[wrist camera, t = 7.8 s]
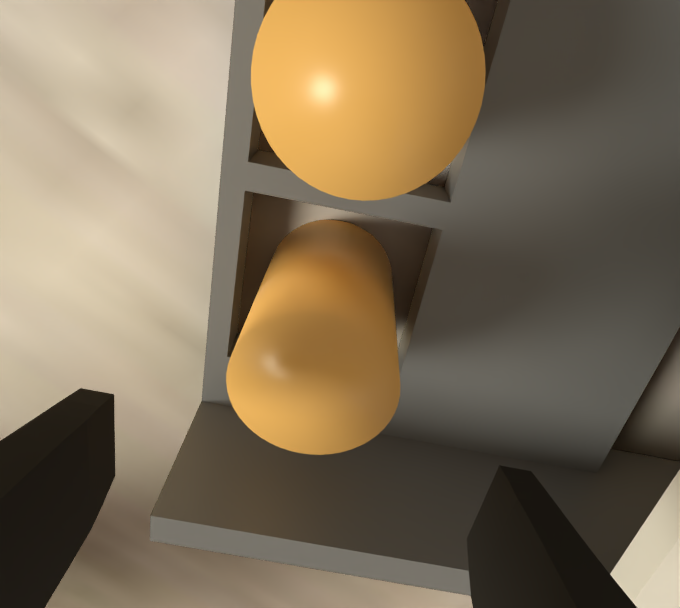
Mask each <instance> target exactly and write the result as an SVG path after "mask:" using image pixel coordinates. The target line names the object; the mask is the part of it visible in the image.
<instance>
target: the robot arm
mask: <svg viewBox="0 0 680 608" xmlns="http://www.w3.org/2000/svg"><path fill="white" fill-rule="evenodd" d="M114 477H115V432H114V394H109V393H103V392H98V391H92V390H87V389H81V388H80V389H79V390H77V391H76V392H74V393H73V394H71V395H69V396H68V397H66V398H65V399H63V400H62V401H60V402H59V403H57V404H56V405H54V406H52V407H51V408H49V409H48V410H46V411H45V412H43V413H42V414H40V415H39V416H37V417H36V418H34V419H33V420H31V421H30V422H28V423H27V424H25V425H24V426H22V427H21V428H19V429H18V430H16V431H15V432H13V433H12V434H10V435H9V436H7V437H5V438H4V439H2V440H1V441H0V608H45V606H46V604H47V603H48V601H49V599H50V598H51V596H52V594H53V593H54V591H55V589H56V588H57V586H58V584H59V583H60V581H61V579H62V578H63V576H64V574H65V573H66V571H67V569H68V568H69V566H70V564H71V563H72V561H73V559H74V557H75V556H76V554H77V552H78V551H79V549H80V547H81V546H82V544H83V542H84V540H85V539H86V537H87V535H88V534H89V532H90V530H91V528H92V526H93V524H94V522H95V520H96V518H97V515H98V513H99V511H100V509H101V507H102V505H103V502H104V500H105V498H106V495H107V493H108V491H109V489H110V486H111V484H112V482H113V479H114ZM467 550H468V567H469V579H470V591H471V598H472V604H473V608H637V607H636V606H635V604H634V603H633V602H632V601H631V600H630V598H629V597H628V596H627V595H626V593H625V592H624V591H623V590H622V589H621V587H620V586H619V585H618V584H617V582H616V581H615V580H614V579H613V577H612V576H611V575H610V574H609V572H608V571H607V570H606V569H605V567H604V566H603V565H602V563H601V562H600V561H599V560H598V558H597V557H596V556H595V554H594V553H593V552H592V551H591V549H590V548H589V547H588V545H587V544H586V543H585V541H584V540H583V539H582V537H581V536H580V535H579V534H578V532H577V531H576V530H575V528H574V527H573V526H572V524H571V523H570V522H569V520H568V519H567V518H566V516H565V515H564V514H563V512H562V511H561V510H560V508H559V507H558V506H557V504H556V503H555V502H554V500H553V499H552V498H551V496H550V495H549V494H548V492H547V491H546V490H545V488H544V487H543V486H542V484H541V483H540V482H539V480H538V479H537V478H536V477H535V475H534V474H533V473H532V472H531V471H528V470H522V469H517V468H512V467H506V466H501V465H499V467H498V469H497V472H496V474H495V476H494V478H493V481H492V483H491V485H490V487H489V490H488V492H487V494H486V496H485V499H484V501H483V503H482V505H481V508H480V510H479V512H478V514H477V517H476V519H475V521H474V523H473V526H472V528H471V530H470V532H469V535H468V537H467Z"/></svg>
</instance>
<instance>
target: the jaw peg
mask: <svg viewBox="0 0 680 608" xmlns="http://www.w3.org/2000/svg"><path fill="white" fill-rule="evenodd" d="M226 384H227V392H228V395H229V399H230V401H231V404H232V406H233V408H234V410H235V411H236V413H237V415H238V416H239V418H240V419H241V420H242V421H243V422H244V424H245V425H246V426H247V427H248V428H249V429H251V430H252V431H253V432H254V433H255V434H257V435H258V436H259V437H261V438H262V439H264V440H266V441H267V442H269V443H271V444H273V445H275V446H278V447H280V448H283V449H286V450H289V451H293V452H297V453H303V454H313V455H324V454H334V453H340V452H344V451H348V450H351V449H354V448H356V447H359V446H361V445H363V444H365V443H366V442H368V441H370V440H371V439H373V438H374V437H375V436H377V435H378V434H379V433H380V432H381V431H382V430H383V429H384V428H385V427H386V426H387V424H388V423H389V422H390V420H391V419H392V417H393V415H394V414H395V411H396V409H397V406H398V403H399V398H400V373H399V360H398V347H397V334H396V322H395V309H394V296H393V283H392V271H391V265H390V261H389V259H388V256H387V254H386V252H385V250H384V249H383V247H382V246H381V245H380V243H379V242H378V241H377V240H376V239H375V238H374V237H373V236H372V235H371V234H370V233H368V232H367V231H365V230H364V229H362V228H360V227H358V226H356V225H354V224H351V223H348V222H344V221H339V220H319V221H314V222H310V223H307V224H305V225H302V226H300V227H298V228H297V229H295V230H293V231H292V232H291V233H289V234H288V235H287V236H286V237H285V238H284V239H283V240H282V241H281V243H280V244H279V245H278V247H277V249H276V251H275V253H274V255H273V257H272V260H271V262H270V264H269V267H268V269H267V272H266V274H265V276H264V279H263V281H262V283H261V286H260V288H259V291H258V293H257V295H256V298H255V300H254V302H253V305H252V307H251V310H250V312H249V314H248V317H247V319H246V321H245V324H244V326H243V329H242V331H241V333H240V336H239V338H238V340H237V343H236V345H235V348H234V350H233V352H232V355H231V357H230V360H229V363H228V367H227V372H226Z"/></svg>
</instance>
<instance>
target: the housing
mask: <svg viewBox="0 0 680 608" xmlns="http://www.w3.org/2000/svg"><path fill="white" fill-rule="evenodd" d="M273 1H274V0H235V9H234V21H233V33H232V45H231V57H230V68H229V80H228V92H227V104H226V116H225V128H224V140H223V152H222V164H221V176H220V188H219V200H218V212H217V224H216V236H215V248H214V260H213V272H212V284H211V295H210V307H209V319H208V331H207V343H206V355H205V367H204V379H203V391H202V402H201V404H200V406H199V408H198V410H197V413H196V415H195V417H194V419H193V422H192V424H191V426H190V428H189V431H188V433H187V435H186V437H185V440H184V442H183V444H182V446H181V449H180V451H179V453H178V455H177V457H176V460H175V462H174V464H173V466H172V469H171V471H170V473H169V475H168V478H167V480H166V482H165V484H164V487H163V489H162V491H161V493H160V496H159V498H158V500H157V502H156V504H155V507H154V509H153V511H152V513H151V516H150V541H154V542H160V543H165V544H171V545H177V546H183V547H189V548H195V549H201V550H206V551H212V552H218V553H224V554H230V555H236V556H241V557H247V558H253V559H259V560H265V561H271V562H276V563H282V564H288V565H294V566H300V567H306V568H312V569H317V570H323V571H329V572H335V573H341V574H347V575H352V576H358V577H364V578H370V579H376V580H382V581H387V582H393V583H399V584H405V585H411V586H417V587H423V588H428V589H434V590H440V591H446V592H452V593H458V594H463V595H469V596H471V591H470V579H469V567H468V550H467V537H468V535H469V532H470V530H471V528H472V526H473V523H474V521H475V519H476V517H477V514H478V512H479V510H480V508H481V505H482V503H483V501H484V499H485V496H486V494H487V492H488V490H489V487H490V485H491V483H492V481H493V478H494V476H495V474H496V472H497V469H498V467H499V465H501V466H506V467H512V468H517V469H522V470H528V471H531V472H532V473H533V474H534V475H535V477H536V478H537V479H538V480H539V482H540V483H541V484H542V486H543V487H544V488H545V490H546V491H547V492H548V494H549V495H550V496H551V498H552V499H553V500H554V502H555V503H556V504H557V506H558V507H559V508H560V510H561V511H562V512H563V514H564V515H565V516H566V518H567V519H568V520H569V522H570V523H571V524H572V526H573V527H574V528H575V530H576V531H577V532H578V534H579V535H580V536H581V537H582V539H583V540H584V541H585V543H586V544H587V545H588V547H589V548H590V549H591V551H592V552H593V553H594V554H595V556H596V557H597V558H598V560H599V561H600V562H601V563H602V565H603V566H604V567H605V569H606V570H607V571H608V572H609V574H610V573H611V572H612V570H613V569H614V567H615V566H616V564H617V563H618V561H619V560H620V558H621V557H622V555H623V554H624V552H625V551H626V549H627V548H628V546H629V545H630V543H631V542H632V540H633V539H634V537H635V536H636V534H637V533H638V531H639V530H640V528H641V527H642V525H643V524H644V522H645V521H646V519H647V518H648V516H649V515H650V513H651V512H652V510H653V509H654V507H655V506H656V504H657V503H658V501H659V500H660V498H661V497H662V495H663V494H664V492H665V491H666V489H667V488H668V486H669V485H670V483H671V482H672V480H673V479H674V477H675V476H676V474H677V473H678V471H679V470H680V462H679V461H674V460H668V459H663V458H657V457H652V456H646V455H641V454H636V453H630V452H625V451H619V450H614V449H611V447H612V446H613V444H614V442H615V440H616V439H617V437H618V435H619V433H620V431H621V430H622V428H623V426H624V424H625V423H626V421H627V419H628V417H629V416H630V414H631V412H632V410H633V409H634V407H635V405H636V403H637V402H638V400H639V398H640V396H641V395H642V393H643V391H644V389H645V387H646V386H647V384H648V382H649V380H650V379H651V377H652V375H653V373H654V372H655V370H656V368H657V366H658V365H659V363H660V361H661V359H662V358H663V356H664V354H665V352H666V351H667V349H668V347H669V345H670V344H671V342H672V340H673V338H674V336H675V335H676V333H677V331H678V329H679V328H680V0H498V1H497V5H496V8H495V12H494V15H493V19H492V22H491V26H490V29H489V33H488V36H487V40H486V43H485V47H484V54H485V70H486V74H485V89H484V95H483V100H482V105H481V108H480V112H479V115H478V118H477V121H476V123H475V125H474V128H473V130H472V132H471V134H470V136H469V138H468V139H467V141H466V143H465V144H464V146H463V148H462V149H461V150H460V152H459V153H458V154H457V155H456V157H455V158H454V159H453V161H452V162H451V166H450V169H449V173H448V176H447V180H446V183H445V187H439V186H434V185H429V184H423V185H422V186H420V187H418V188H417V189H414V190H412V191H410V192H407V193H405V194H402V195H399V196H396V197H392V198H387V199H381V200H368V201H361V200H350V199H345V198H341V197H336V196H333V195H330V194H328V193H325V192H322V191H320V190H318V189H316V188H315V187H313V186H311V185H309V184H308V183H306V182H305V181H303V180H302V179H300V178H299V177H298V176H296V175H295V174H294V173H293V172H292V171H291V170H290V169H289V168H287V166H286V165H285V164H284V163H283V162H282V161H281V160H280V158H279V157H278V156H277V155H276V153H271V152H266V151H261V150H258V149H259V140H260V131H261V126H260V123H259V121H258V118H257V115H256V111H255V107H254V103H253V97H252V88H251V64H252V56H253V50H254V46H255V42H256V38H257V34H258V32H259V29H260V26H261V24H262V21H263V19H264V17H265V15H266V13H267V11H268V10H269V8H270V6H271V4H272V3H273ZM253 192H255V193H260V194H265V195H270V196H275V197H280V198H285V199H290V200H295V201H300V202H305V203H310V204H315V205H320V206H325V207H330V208H335V209H340V210H345V211H350V212H355V213H360V214H365V215H370V216H375V217H380V218H385V219H390V220H395V221H400V222H405V223H410V224H415V225H420V226H425V227H430V228H433V229H432V232H431V236H430V239H429V243H428V246H427V250H426V253H425V257H424V260H423V264H422V267H421V271H420V274H419V278H418V281H417V285H416V288H415V292H414V295H413V299H412V302H411V306H410V309H409V313H408V317H407V320H406V324H405V327H404V331H403V334H402V338H401V341H400V345H399V348H398V360H399V373H400V398H399V403H398V406H397V409H396V411H395V414H394V415H393V417H392V419H391V420H390V422H389V423H388V424H387V426H386V427H385V428H384V429H383V430H382V431H381V432H380V433H379V434H378V435H377V436H375V437H374V438H373V439H371V440H370V441H368V442H366V443H365V444H363V445H361V446H359V447H356V448H354V449H351V450H348V451H344V452H340V453H334V454H324V455H313V454H303V453H297V452H293V451H289V450H286V449H283V448H280V447H278V446H275V445H273V444H271V443H269V442H267V441H266V440H264V439H262V438H261V437H259V436H258V435H257V434H255V433H254V432H253V431H252V430H251V429H249V428H248V427H247V426H246V425H245V424H244V422H243V421H242V420H241V419H240V418H239V416H238V415H237V413H236V411H235V410H234V408H233V406H232V404H231V401H230V399H229V395H228V392H227V384H226V372H227V367H228V363H229V360H230V357H231V355H232V352H233V350H234V348H235V345H236V343H237V340H238V338H239V336H240V334H239V333H237V332H238V323H239V314H240V306H241V297H242V288H243V279H244V271H245V262H246V253H247V245H248V236H249V227H250V218H251V210H252V201H253Z"/></svg>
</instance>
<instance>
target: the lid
mask: <svg viewBox="0 0 680 608" xmlns="http://www.w3.org/2000/svg"><path fill="white" fill-rule="evenodd" d="M610 575H611V576H612V577H613V579H614V580H615V581H616V582H617V584H618V585H619V586H620V587H621V589H622V590H623V591H624V592H625V593H626V595H627V596H628V597H629V598H630V600H631V601H632V602H633V603H634V604H635V606H636V607H637V608H680V470H679V471H678V473H677V474H676V476H675V477H674V479H673V480H672V482H671V483H670V485H669V486H668V488H667V489H666V491H665V492H664V494H663V495H662V497H661V498H660V500H659V501H658V503H657V504H656V506H655V507H654V509H653V510H652V512H651V513H650V515H649V516H648V518H647V519H646V521H645V522H644V524H643V525H642V527H641V528H640V530H639V531H638V533H637V534H636V536H635V537H634V539H633V540H632V542H631V543H630V545H629V546H628V548H627V549H626V551H625V552H624V554H623V555H622V557H621V558H620V560H619V561H618V563H617V564H616V566H615V567H614V569H613V570H612V572H611V573H610Z"/></svg>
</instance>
